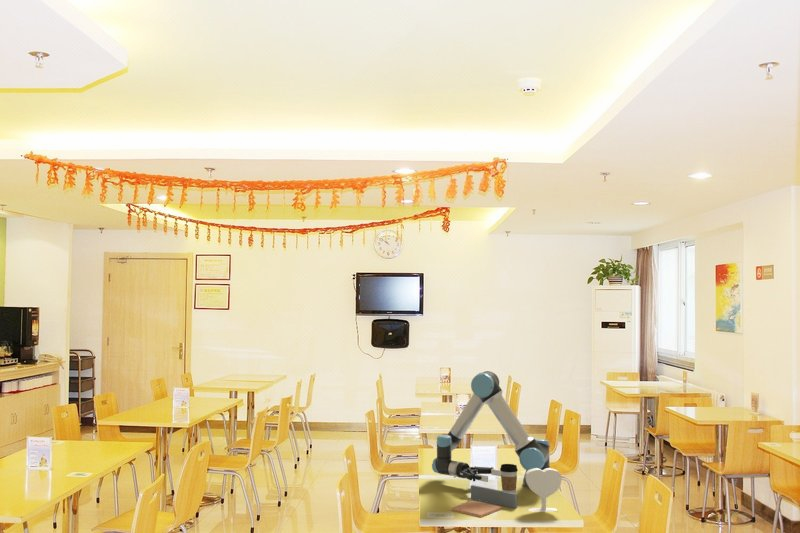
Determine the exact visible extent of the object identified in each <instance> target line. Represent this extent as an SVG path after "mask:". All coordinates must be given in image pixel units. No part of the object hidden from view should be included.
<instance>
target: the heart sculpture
mask: <svg viewBox="0 0 800 533" xmlns="http://www.w3.org/2000/svg"><path fill="white" fill-rule="evenodd" d="M525 472H526V471H525ZM524 475H525V474H524ZM525 478H526V483H527V485H528V486H529V487H528V488H529V489H530V490H531V492H533V493H534V494H535V495H537V496H538V497H540V500H541V501H540V506H541V507H534V508H528V511H529V512H532V513H547V512H550V513H554V512H553V511H557V508H554V507H547V498H549V497H550V496H552V495H554V494H555V493H556V492H557V491H558V490H559V488H560V487H561V484H562V474H561V472H559V471H558V470H557V469H554V468H551V467H550V468H546V469H544V470H541V469H539V468H533V469H530V470H528V471H527V472H526V475H525Z"/></svg>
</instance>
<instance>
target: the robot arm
mask: <svg viewBox="0 0 800 533" xmlns="http://www.w3.org/2000/svg"><path fill="white" fill-rule="evenodd" d="M470 387H471V388H470V389H471V392H472V393H473V394H472V395H471V397H470V399H469V400H468V402H467V403H466V405H465V407H464V408H463V410H462V411H461V413H460V414H459V416H458V418H457V419H456V420H455V422H454V424H453V425H452V427H451V428H450V430H449V432H448V433H447V434H440V435H438V436H437V437H436V457H435V458H433V460H432V463H431V469H432V471H433V472H434V473H436V474H439V475H445V476H452V477H453V478H460V479H466V480H469V481H472V482H476V481H480V482H485V483H488V482H489V475H491V476H496V477H501V471H500V469H496V468H495V469H494V467H493V466H491V467H485V466H476V465H475V466H470V465H469V464H468V462H462V461H458V460H452V452H453V451H454V450H455V449H457V448H458V447H459V446H460V444H461V441H462V440H463V437H464V436H465V434H467V431H468V430H469V428H470V427H471V426H472V424H473V422H474V421H475V419H476V417H477V416H478V415H479V413H480V411H481V410H482V409H483V407H484V405H486V406H487V405H488V408H489V409H490V410H491V412H492V414H493V415H494V416H495V418H496V420H497V421H498V423H499V424H500V425H501V427H502V429H503V431H504V432H505V433H506V434H507V436H508V437H509V439H510V441H511V443H512V444H514V452H515V454H516V455H517V457H518V458H519V464H520V465H521V467H522V468H523V469H524V470H525V472H524V475H523V478H522V485H523V486H524V487H526V488H529V486H528V485H527V483H526V478H525V475H526V472H527V471H528V470H530V469H533V468H539V469H541V470H544V469H546V468H551V467H550V441H549V440H547V439H541V438H535V437H532V436H529V433H528V431H527V430H526V429H525V427H524V426H523V424H522V423H521V421H520V419H518V417H517V415H516V414H515V413H514V411H513V410H512V408H511V407H510V405H509V404H508V403H507V400H506V399H505V398H504V396H503V390H502V388H501V387H500V379H499V377H498V375H497V374H496V373H494V372H493V371H491V370H490V371H489V370H486V371H483V372H479V373H477V374H476V375H475V376H473V378H472V380H471V383H470Z"/></svg>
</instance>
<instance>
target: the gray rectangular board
mask: <svg viewBox="0 0 800 533" xmlns="http://www.w3.org/2000/svg"><path fill="white" fill-rule="evenodd" d="M517 496H518V494H517V493H516V494H515V493H510V492H505V491H502V490H499V489H494V488H489V487H483V486H479V485H475V484H471V485H470V499H471V500H475V499H476V501H479V500H480V501H479V502H483V503H488V504H492V505H497V506H503V507H508V508H512V509H518V497H517Z"/></svg>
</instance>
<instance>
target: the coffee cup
mask: <svg viewBox="0 0 800 533" xmlns="http://www.w3.org/2000/svg"><path fill="white" fill-rule="evenodd" d="M499 470H500V471H501V476H500V480H501V491H505V492H510V493H515V494H517V493H516V491H517V483H518V482H517V479H518V475H517V474H518V466H517V464H514V463H503V464H500V468H499Z"/></svg>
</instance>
